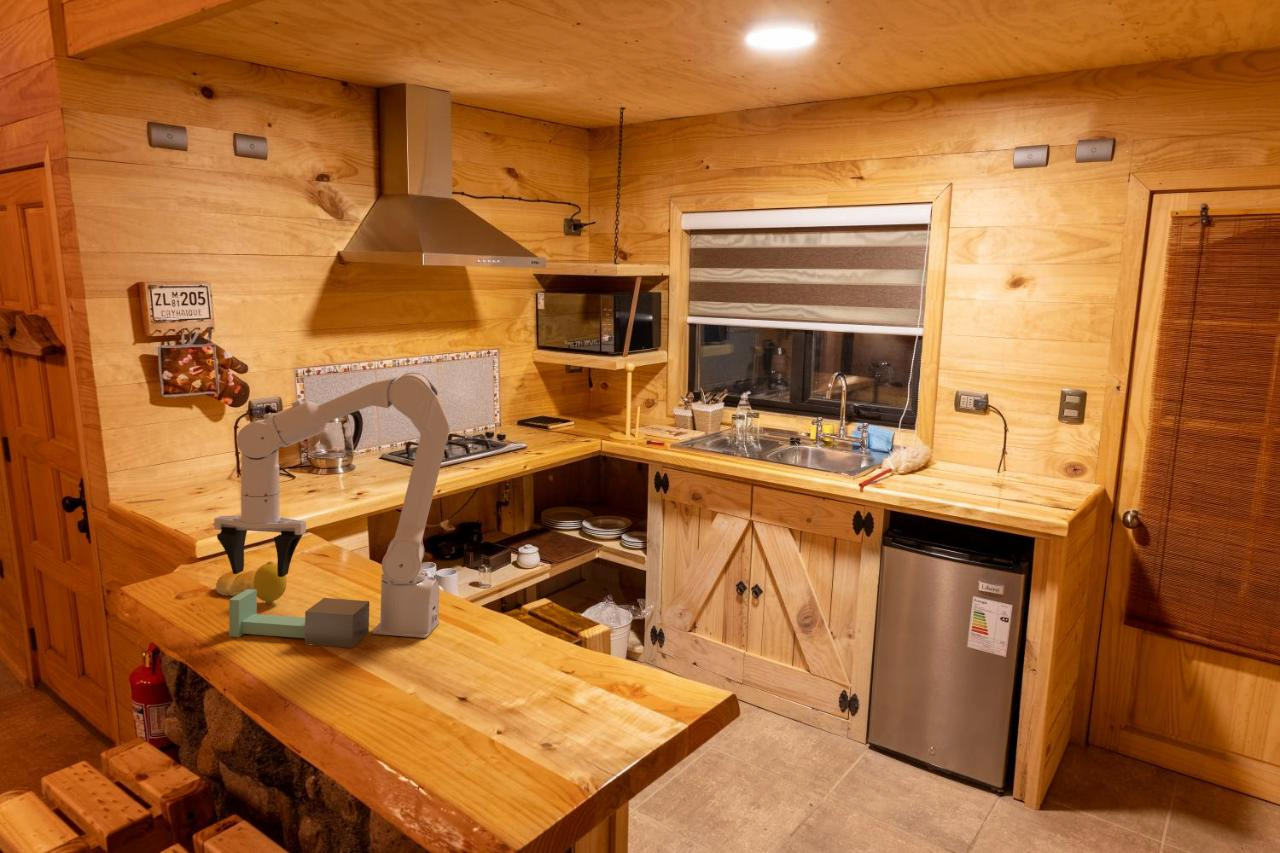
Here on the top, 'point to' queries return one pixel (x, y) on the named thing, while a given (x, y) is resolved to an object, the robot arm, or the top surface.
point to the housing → (337, 622)
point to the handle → (260, 619)
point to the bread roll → (235, 583)
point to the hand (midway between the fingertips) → (260, 573)
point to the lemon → (269, 583)
